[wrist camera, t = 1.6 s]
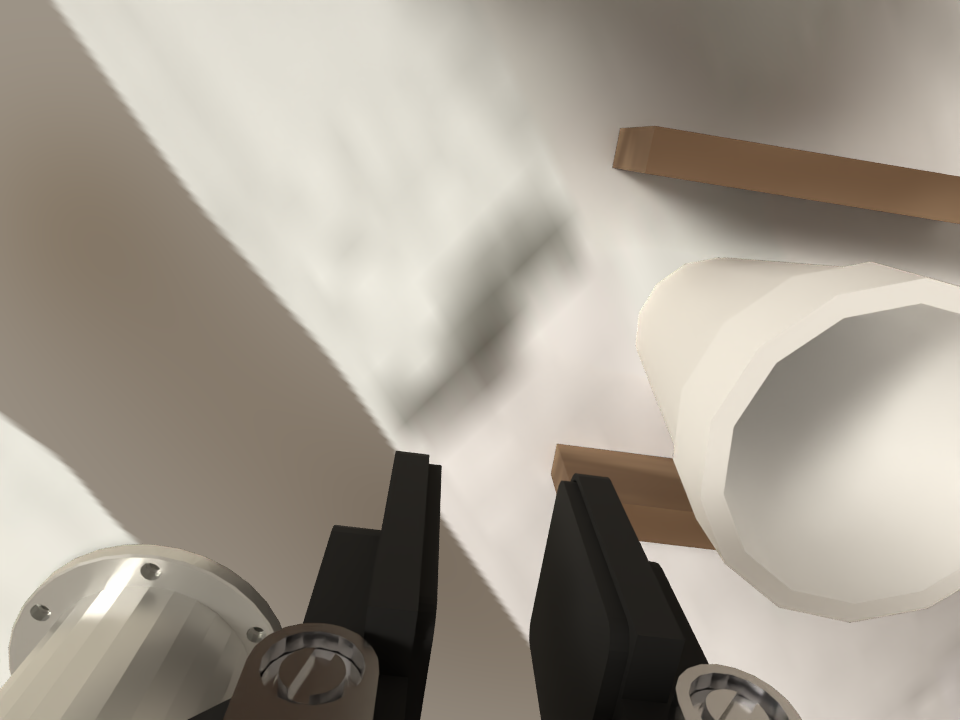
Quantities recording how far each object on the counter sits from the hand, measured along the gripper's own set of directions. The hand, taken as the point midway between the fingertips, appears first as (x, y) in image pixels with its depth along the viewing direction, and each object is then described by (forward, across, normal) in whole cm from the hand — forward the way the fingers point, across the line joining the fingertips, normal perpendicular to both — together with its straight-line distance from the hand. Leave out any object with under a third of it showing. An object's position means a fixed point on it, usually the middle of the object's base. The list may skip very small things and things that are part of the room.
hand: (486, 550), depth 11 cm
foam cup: (+19, -10, 0) cm, 22 cm away
